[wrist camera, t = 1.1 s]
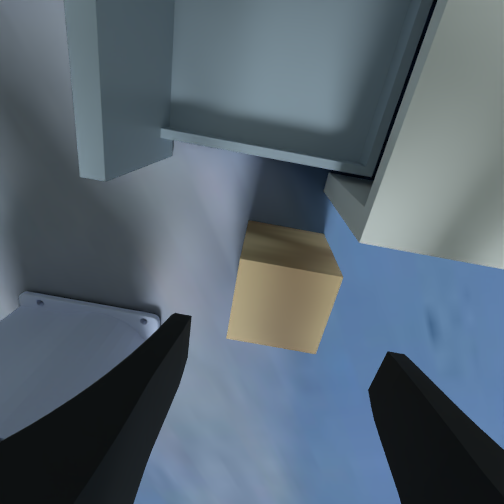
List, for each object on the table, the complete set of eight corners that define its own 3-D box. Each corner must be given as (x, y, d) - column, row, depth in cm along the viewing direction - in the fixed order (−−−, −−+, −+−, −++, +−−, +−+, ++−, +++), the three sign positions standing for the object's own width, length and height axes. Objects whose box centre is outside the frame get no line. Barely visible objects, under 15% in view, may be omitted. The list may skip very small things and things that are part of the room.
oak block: (237, 283, 18) (226, 338, 14) (248, 219, 16) (240, 258, 12) (304, 296, 18) (315, 354, 14) (323, 233, 16) (343, 277, 12)
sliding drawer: (156, 153, 15) (79, 177, 9) (164, -168, 10) (10, -573, 4) (354, 189, 15) (407, 237, 9) (452, -110, 10) (699, -422, 4)
